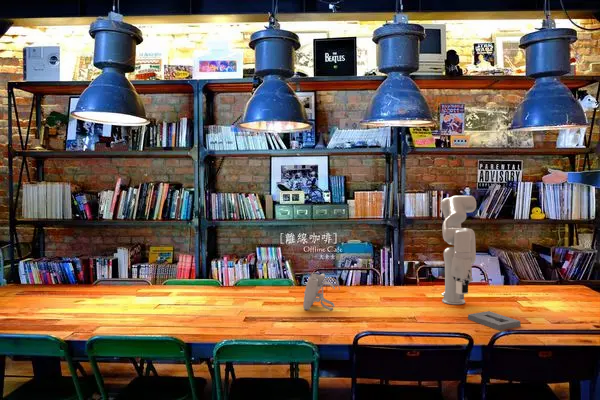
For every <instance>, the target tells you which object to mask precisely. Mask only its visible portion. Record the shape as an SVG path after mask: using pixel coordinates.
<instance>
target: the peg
mask: <svg viewBox="0 0 600 400" xmlns="http://www.w3.org/2000/svg"><path fill="white" fill-rule="evenodd" d="M465 282H466V280H465ZM462 285H463V279H462V280H459V281H456V293H458V294H459V299H463V300H465V295H468V294H469V291H468V292H467V293H462Z"/></svg>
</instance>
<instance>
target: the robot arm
mask: <svg viewBox="0 0 600 400" xmlns="http://www.w3.org/2000/svg"><path fill="white" fill-rule="evenodd" d="M476 200H477V199H476V198H475V197H474V196H473V195H453V196H451V197H445V198H443V199H442V200H441V204H440V205H441V212H442V214H443V217H444V220H443V222H442V226H441V229H442V230H441V231H442V238H443V240H444V242H446V243H447V244H448V245H452V246H453V247H452V246H450V247H446V248H445V249H444V250H443V261H444V291H443V292H442V293H441V296H443V298H442V299H441V302H442V303H444V304H446V305H455V306H456V305H464V304H466V300H465V299H459V294H458V293H456V281H459V280H463V285H462V293H467V292H468V293H469V285H470V283H471V282H473V280H474V279H473V278H474V277H472V276H473V268H472V267H473V266H472V265H473V264H475V263H476V258H477V257H476V255H477V253H476V248H477V247H476V234H475V230H473V229H472V228H468V227H462V224H463V222H465V221H466V220H467V213H468V214H469V213H473V212H474V211H476V209H477V201H476ZM465 281H466V282H465Z"/></svg>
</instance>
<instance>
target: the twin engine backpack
mask: <svg viewBox="0 0 600 400" xmlns="http://www.w3.org/2000/svg"><path fill="white" fill-rule="evenodd" d="M328 280H334V281H335V283H336V285H337V286H338V290H339V291H340V290H341V288H340V284H339V282H338V280H337V279H335V278H334V277H327V278H326V274H325V273H321V274H318V273H316V272H315V271H313V272H311V274H310V276H309V277H308V281H307V282H306V283H305V285H306V286H305V290H304V292H303V294H304V297H303V309H304V310H307V311H309V310H310V309H311V308H312V306H313V305H314V303H319V302H320V305H321V306H322V307H323V308H324V309H325V310H329V311H332V310H334V308H335V303H334V302H333V301H331V300H328V299H326V298H324V297H325V296H324V285H329V286H331V287H332V289H333V290H335V289H336V287H335V286H334V284H333V283H332V282H329V281H328ZM320 291H321V292H320ZM325 303H326V304H329V305H331V306H332V307H330V306H328V305H326V304H325ZM333 307H334V308H333Z"/></svg>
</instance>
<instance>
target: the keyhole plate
mask: <svg viewBox="0 0 600 400" xmlns="http://www.w3.org/2000/svg"><path fill="white" fill-rule="evenodd" d="M467 320H469V321H472V322H475V323H478V324H481V325H484V326H485V327H488V328H492V329H494V330H497V331H501V330H502V331H503V330H507V329H513V328H518V327H521V322H522V321H521V320H518V319H514V318H512V317H509V316H505V315H502V314H500V313H497V312H493V311H491V310H488V311H487V310H486V311H482V312H475V313H468V314H467Z"/></svg>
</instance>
